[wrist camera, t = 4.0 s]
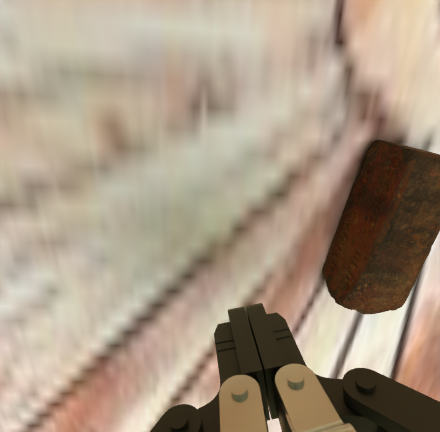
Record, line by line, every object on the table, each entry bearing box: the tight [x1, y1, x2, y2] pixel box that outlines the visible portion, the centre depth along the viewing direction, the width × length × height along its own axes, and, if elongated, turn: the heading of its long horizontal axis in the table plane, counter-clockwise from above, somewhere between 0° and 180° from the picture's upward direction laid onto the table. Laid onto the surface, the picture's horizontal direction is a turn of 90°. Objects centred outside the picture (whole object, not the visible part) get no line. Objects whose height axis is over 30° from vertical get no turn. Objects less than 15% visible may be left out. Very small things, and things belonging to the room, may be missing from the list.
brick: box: [323, 140, 440, 314], centre depth 22 cm, size 11×4×5 cm, turn 167°
